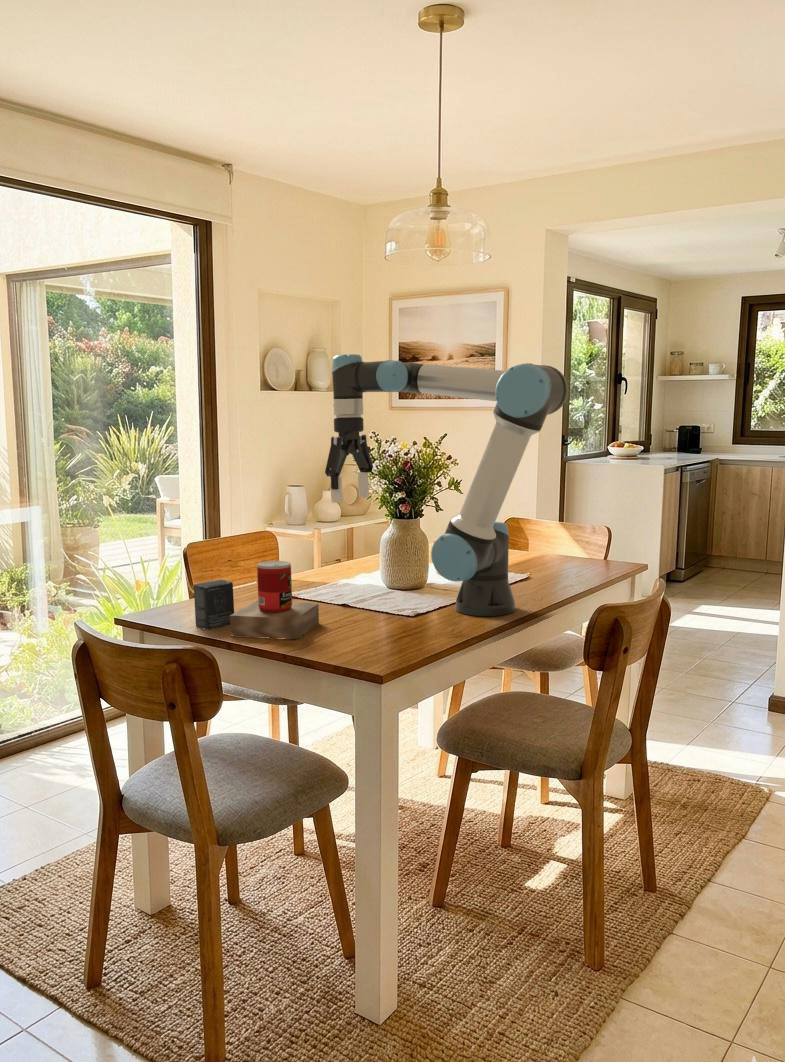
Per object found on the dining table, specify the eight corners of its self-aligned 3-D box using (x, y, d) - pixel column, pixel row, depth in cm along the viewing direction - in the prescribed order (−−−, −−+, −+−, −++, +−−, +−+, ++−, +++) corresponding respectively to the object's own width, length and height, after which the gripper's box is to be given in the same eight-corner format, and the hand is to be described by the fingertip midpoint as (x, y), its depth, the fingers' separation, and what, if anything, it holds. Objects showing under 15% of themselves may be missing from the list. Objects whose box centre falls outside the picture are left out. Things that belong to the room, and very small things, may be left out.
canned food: (286, 613, 212) (285, 566, 210) (253, 612, 213) (252, 565, 212) (296, 606, 219) (295, 561, 217) (264, 605, 221) (263, 560, 219)
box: (222, 620, 227) (220, 579, 225) (235, 624, 223) (233, 582, 221) (194, 626, 221) (192, 583, 220) (207, 630, 217) (205, 586, 216)
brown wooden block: (318, 623, 222) (318, 603, 222) (296, 640, 207) (295, 618, 206) (257, 620, 226) (256, 600, 226) (230, 636, 211) (229, 615, 210)
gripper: (360, 415, 245) (362, 494, 248) (309, 417, 223) (312, 504, 226) (384, 415, 241) (386, 495, 244) (335, 417, 219) (338, 505, 222)
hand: (350, 499), depth 235 cm, fingers open, 13 cm apart
